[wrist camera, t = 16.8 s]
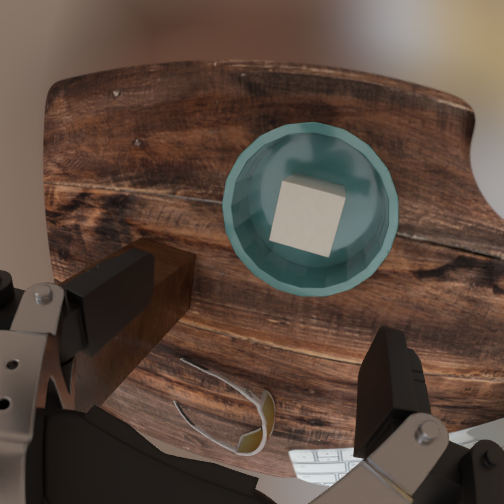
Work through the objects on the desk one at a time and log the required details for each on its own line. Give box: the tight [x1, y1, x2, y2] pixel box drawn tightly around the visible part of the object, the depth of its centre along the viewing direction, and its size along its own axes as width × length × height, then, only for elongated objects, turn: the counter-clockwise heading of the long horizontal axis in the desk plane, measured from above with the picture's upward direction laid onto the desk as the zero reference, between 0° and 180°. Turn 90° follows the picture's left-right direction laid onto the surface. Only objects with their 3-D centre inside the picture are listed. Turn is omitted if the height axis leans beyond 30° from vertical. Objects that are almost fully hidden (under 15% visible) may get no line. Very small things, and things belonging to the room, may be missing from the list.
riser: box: [58, 238, 196, 413], centre depth 25 cm, size 7×7×22 cm
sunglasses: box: [173, 358, 275, 456], centre depth 38 cm, size 14×15×5 cm
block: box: [269, 173, 346, 257], centre depth 24 cm, size 4×4×6 cm
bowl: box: [222, 122, 399, 297], centre depth 25 cm, size 14×14×5 cm
